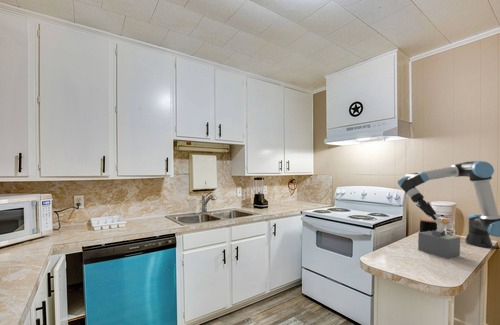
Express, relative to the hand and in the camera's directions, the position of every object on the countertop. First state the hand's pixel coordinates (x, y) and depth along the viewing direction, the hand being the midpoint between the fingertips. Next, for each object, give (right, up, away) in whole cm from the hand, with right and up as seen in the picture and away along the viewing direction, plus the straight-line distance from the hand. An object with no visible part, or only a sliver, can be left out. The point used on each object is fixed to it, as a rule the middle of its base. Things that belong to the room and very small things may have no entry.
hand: (440, 223), depth 163 cm
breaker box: (-1, -20, +1) cm, 20 cm away
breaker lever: (-1, -7, +1) cm, 7 cm away
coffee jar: (+8, -21, +22) cm, 31 cm away
